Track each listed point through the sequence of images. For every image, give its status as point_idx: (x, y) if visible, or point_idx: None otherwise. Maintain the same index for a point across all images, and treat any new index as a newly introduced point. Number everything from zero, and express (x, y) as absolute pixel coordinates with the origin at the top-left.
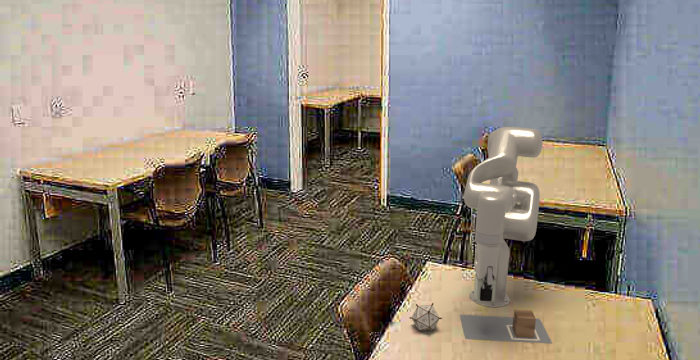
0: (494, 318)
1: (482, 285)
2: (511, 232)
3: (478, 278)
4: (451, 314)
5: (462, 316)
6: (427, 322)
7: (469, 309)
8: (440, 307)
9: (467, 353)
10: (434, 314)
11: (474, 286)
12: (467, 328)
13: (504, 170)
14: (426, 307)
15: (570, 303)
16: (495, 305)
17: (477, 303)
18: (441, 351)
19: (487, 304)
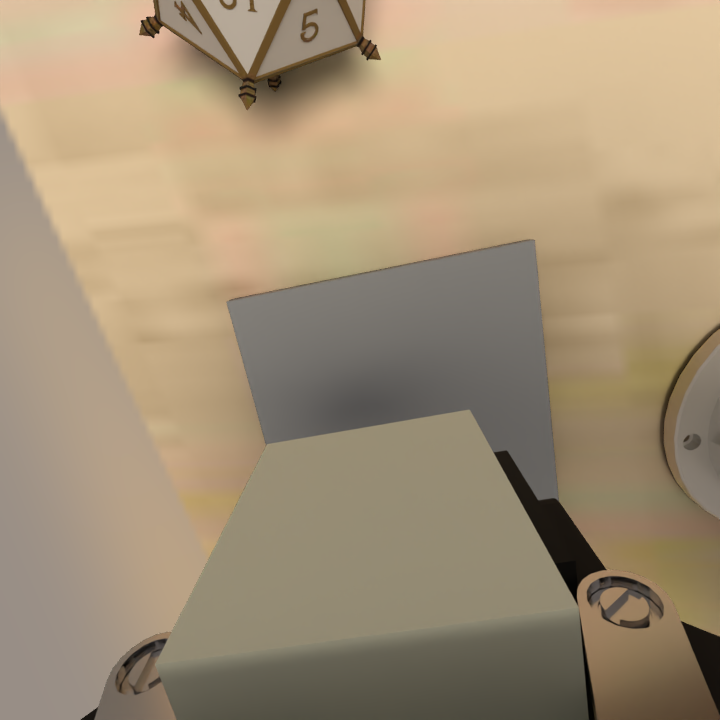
0: (527, 453)
1: (121, 697)
2: None
3: (299, 673)
4: (553, 181)
5: (511, 261)
6: None
7: (644, 297)
8: (647, 86)
9: (108, 321)
10: (219, 12)
11: (473, 447)
12: (359, 305)
13: None
14: None
15: None
16: (687, 457)
17: (711, 347)
18: (61, 165)
19: (695, 411)
